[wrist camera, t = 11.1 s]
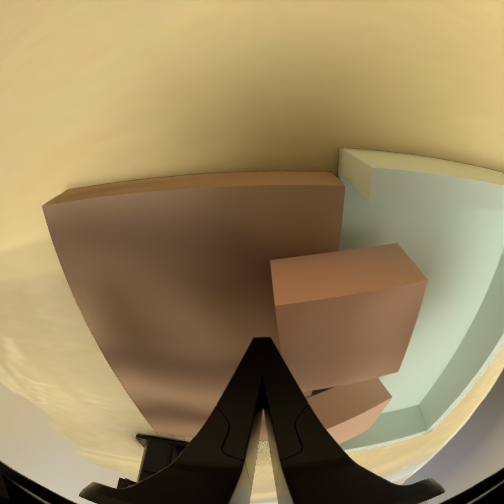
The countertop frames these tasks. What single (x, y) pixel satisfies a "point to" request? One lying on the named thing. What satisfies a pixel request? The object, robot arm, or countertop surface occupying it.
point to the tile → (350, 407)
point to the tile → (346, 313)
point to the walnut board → (187, 275)
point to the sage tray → (431, 276)
